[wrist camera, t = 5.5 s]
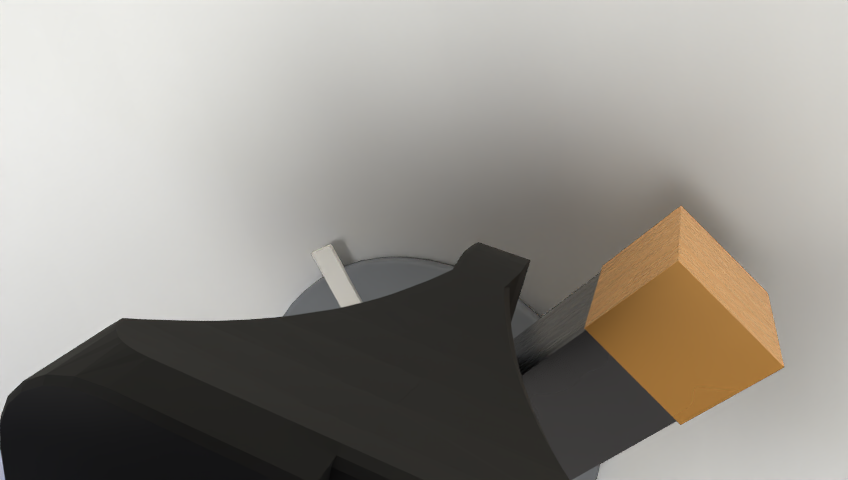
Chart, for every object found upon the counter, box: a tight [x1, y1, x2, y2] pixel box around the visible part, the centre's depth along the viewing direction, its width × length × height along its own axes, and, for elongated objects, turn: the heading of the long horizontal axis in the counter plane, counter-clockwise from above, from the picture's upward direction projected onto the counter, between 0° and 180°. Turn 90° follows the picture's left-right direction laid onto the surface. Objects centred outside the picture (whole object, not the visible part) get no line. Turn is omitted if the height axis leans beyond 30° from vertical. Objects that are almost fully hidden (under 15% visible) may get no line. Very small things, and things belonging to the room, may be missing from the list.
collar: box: [513, 206, 784, 480], centre depth 12 cm, size 12×6×2 cm, turn 140°
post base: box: [283, 244, 600, 480], centre depth 16 cm, size 9×9×2 cm
